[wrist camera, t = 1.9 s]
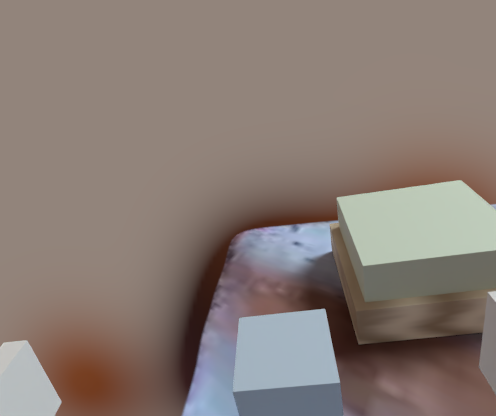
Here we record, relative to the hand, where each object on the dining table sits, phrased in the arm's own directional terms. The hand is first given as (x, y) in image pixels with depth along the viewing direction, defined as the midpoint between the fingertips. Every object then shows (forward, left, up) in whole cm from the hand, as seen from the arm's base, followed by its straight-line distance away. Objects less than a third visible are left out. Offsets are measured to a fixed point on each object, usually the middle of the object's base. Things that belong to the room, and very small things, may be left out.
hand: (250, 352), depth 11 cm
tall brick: (0, -10, -20) cm, 22 cm away
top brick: (-14, -27, -16) cm, 34 cm away
